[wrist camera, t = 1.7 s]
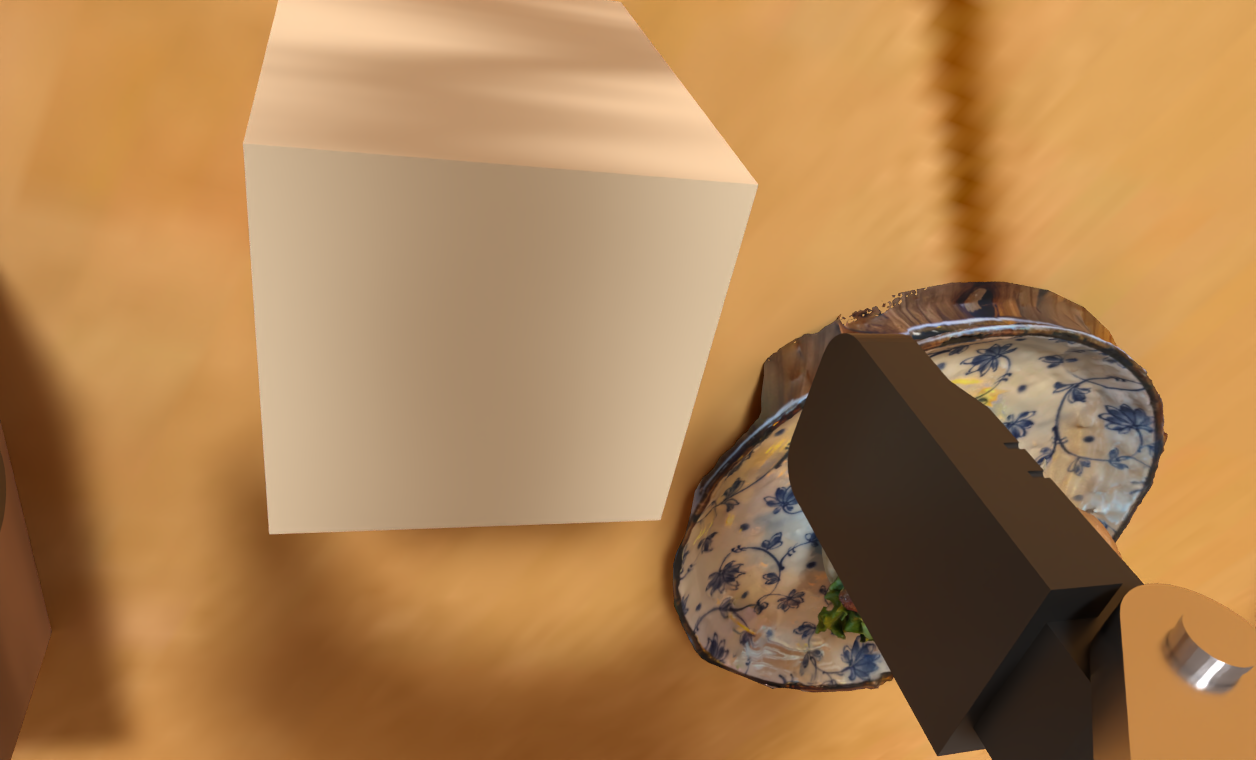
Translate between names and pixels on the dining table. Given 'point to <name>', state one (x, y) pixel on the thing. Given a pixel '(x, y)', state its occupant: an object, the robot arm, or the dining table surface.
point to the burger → (977, 363)
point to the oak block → (479, 263)
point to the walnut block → (18, 616)
